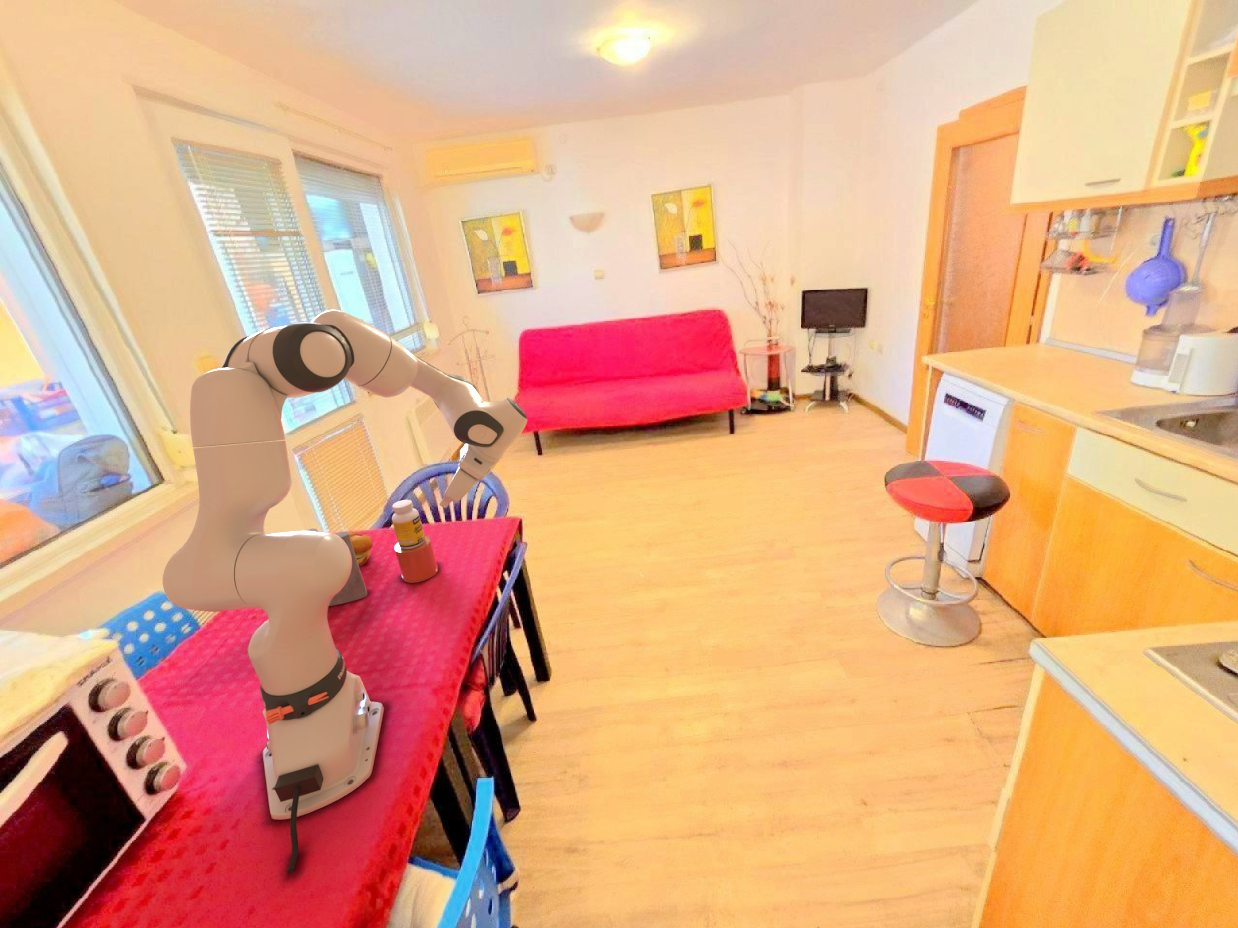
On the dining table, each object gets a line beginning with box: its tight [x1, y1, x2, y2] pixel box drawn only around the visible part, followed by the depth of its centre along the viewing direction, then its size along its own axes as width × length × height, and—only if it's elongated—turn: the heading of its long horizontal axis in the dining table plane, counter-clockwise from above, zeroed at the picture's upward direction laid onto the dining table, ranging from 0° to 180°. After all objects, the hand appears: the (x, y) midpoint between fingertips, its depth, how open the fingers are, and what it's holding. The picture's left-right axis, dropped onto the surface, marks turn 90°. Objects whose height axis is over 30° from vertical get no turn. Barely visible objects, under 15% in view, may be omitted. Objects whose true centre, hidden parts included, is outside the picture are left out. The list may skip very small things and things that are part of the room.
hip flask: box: [304, 528, 368, 607], centre depth 122 cm, size 16×4×20 cm, turn 102°
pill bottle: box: [391, 499, 425, 549], centre depth 130 cm, size 6×6×12 cm
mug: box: [394, 534, 439, 584], centre depth 134 cm, size 12×9×9 cm
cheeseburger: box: [347, 531, 374, 568], centre depth 142 cm, size 10×11×10 cm
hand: (446, 497), depth 126 cm, fingers open, 8 cm apart
